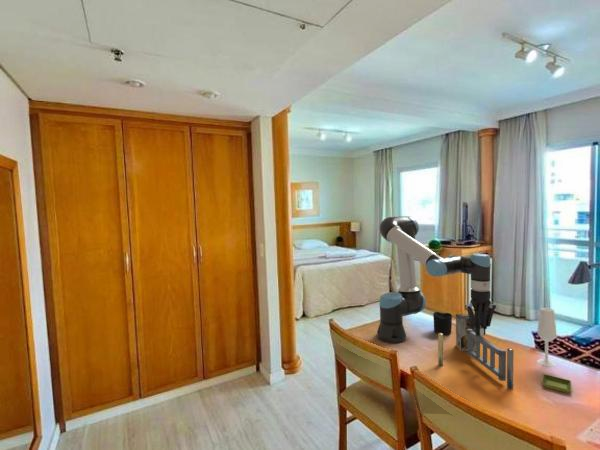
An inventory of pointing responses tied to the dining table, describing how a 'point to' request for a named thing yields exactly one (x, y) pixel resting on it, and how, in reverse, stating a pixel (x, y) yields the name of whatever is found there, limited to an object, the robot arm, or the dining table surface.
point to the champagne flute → (546, 332)
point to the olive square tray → (556, 383)
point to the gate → (493, 349)
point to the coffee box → (463, 331)
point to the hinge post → (510, 368)
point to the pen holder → (442, 323)
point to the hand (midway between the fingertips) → (480, 341)
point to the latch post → (440, 349)
